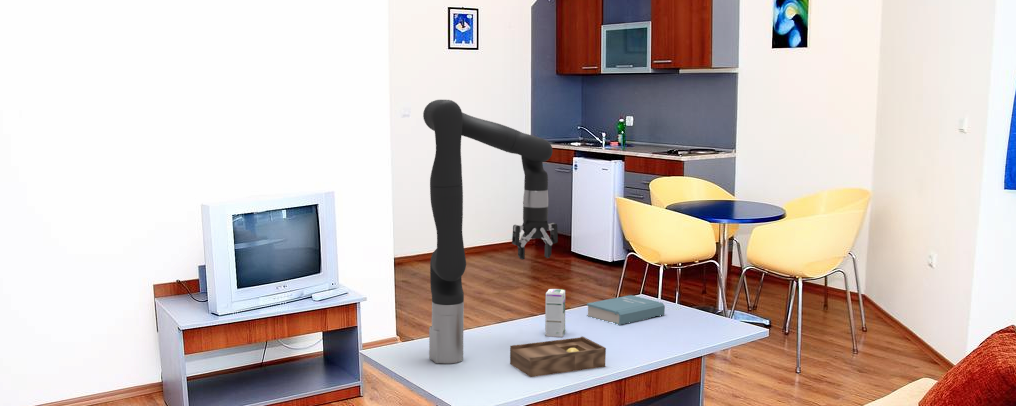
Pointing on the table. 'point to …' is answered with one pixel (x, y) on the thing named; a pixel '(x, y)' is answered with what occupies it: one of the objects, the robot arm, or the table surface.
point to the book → (625, 309)
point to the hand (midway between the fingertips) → (534, 258)
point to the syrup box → (555, 313)
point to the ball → (572, 350)
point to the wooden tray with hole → (557, 356)
